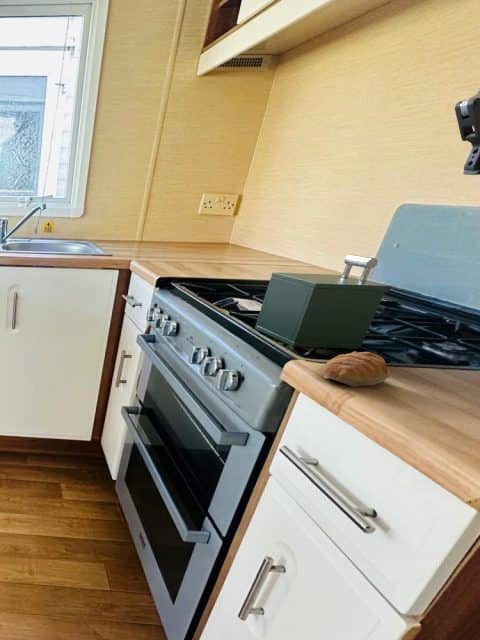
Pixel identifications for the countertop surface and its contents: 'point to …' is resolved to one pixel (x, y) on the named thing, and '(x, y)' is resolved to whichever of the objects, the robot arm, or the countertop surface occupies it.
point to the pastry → (357, 369)
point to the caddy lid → (338, 276)
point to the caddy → (317, 314)
